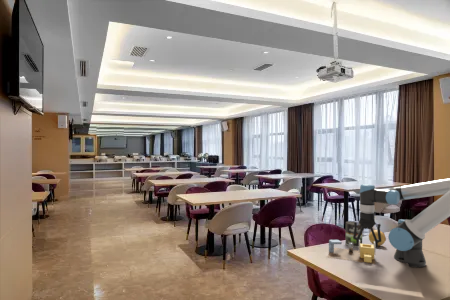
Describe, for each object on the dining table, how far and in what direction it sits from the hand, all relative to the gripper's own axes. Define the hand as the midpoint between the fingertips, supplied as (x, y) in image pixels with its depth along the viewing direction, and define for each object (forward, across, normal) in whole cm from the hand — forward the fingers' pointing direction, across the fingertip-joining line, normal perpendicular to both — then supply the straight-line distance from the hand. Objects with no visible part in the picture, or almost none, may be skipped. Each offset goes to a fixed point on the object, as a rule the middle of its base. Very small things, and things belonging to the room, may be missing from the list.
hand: (366, 252), depth 173 cm
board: (+4, +8, -1) cm, 9 cm away
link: (+2, 0, +3) cm, 4 cm away
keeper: (+2, +17, -2) cm, 17 cm away
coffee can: (+4, +6, -28) cm, 29 cm away
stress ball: (+4, -8, -32) cm, 33 cm away
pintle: (+2, +8, -7) cm, 11 cm away
